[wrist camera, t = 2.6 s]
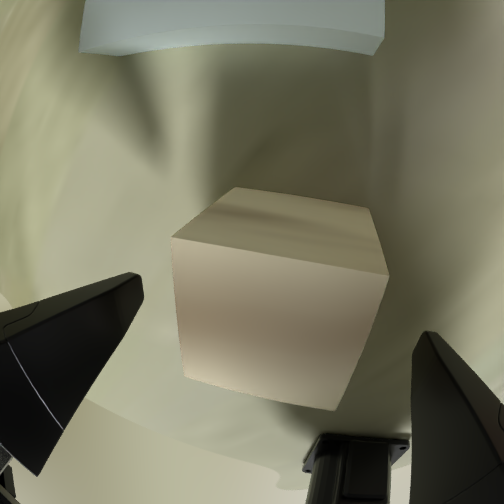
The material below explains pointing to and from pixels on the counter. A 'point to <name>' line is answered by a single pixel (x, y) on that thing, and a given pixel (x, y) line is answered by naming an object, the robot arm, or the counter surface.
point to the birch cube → (277, 294)
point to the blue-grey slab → (230, 24)
